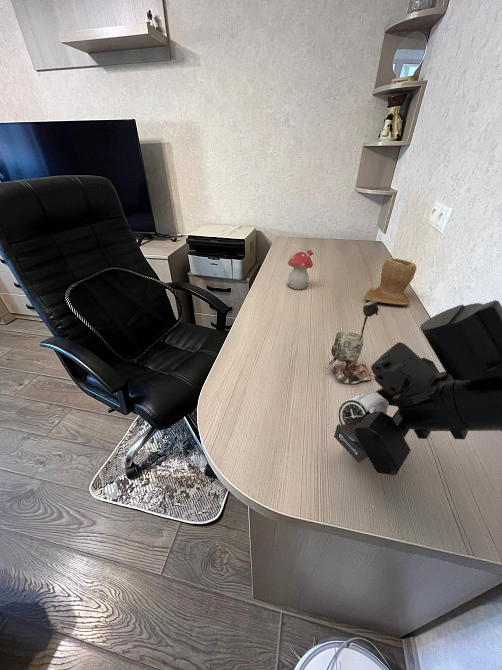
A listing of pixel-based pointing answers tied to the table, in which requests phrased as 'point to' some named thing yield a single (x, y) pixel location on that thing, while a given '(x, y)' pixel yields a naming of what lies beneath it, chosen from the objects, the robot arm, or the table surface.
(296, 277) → the decorative ornament
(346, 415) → the watch
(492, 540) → the table surface
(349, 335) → the plant with pod
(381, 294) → the brown suede boot
